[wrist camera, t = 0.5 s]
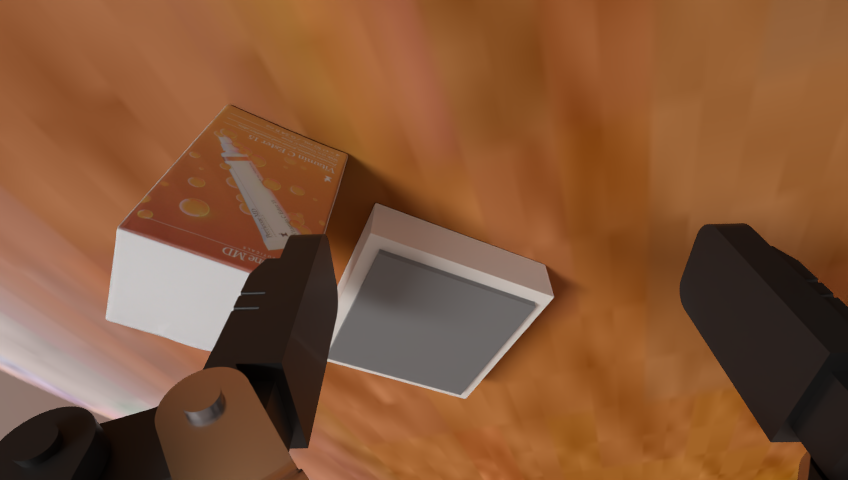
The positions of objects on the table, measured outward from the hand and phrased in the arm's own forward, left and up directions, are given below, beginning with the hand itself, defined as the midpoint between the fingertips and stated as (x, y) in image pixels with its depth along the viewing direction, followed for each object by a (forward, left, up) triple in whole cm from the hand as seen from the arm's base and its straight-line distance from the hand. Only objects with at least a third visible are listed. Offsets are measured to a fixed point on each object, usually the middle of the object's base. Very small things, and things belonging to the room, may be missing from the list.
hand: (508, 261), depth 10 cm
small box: (+13, -7, -20) cm, 25 cm away
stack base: (+20, +7, -20) cm, 29 cm away
